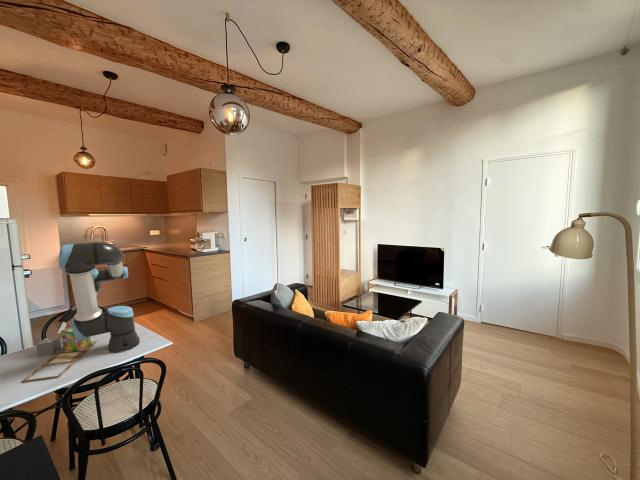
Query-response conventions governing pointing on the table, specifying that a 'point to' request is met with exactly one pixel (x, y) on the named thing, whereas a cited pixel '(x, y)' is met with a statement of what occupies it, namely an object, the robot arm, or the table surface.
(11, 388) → the table surface
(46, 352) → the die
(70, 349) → the chalk box
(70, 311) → the robot arm
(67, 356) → the board
